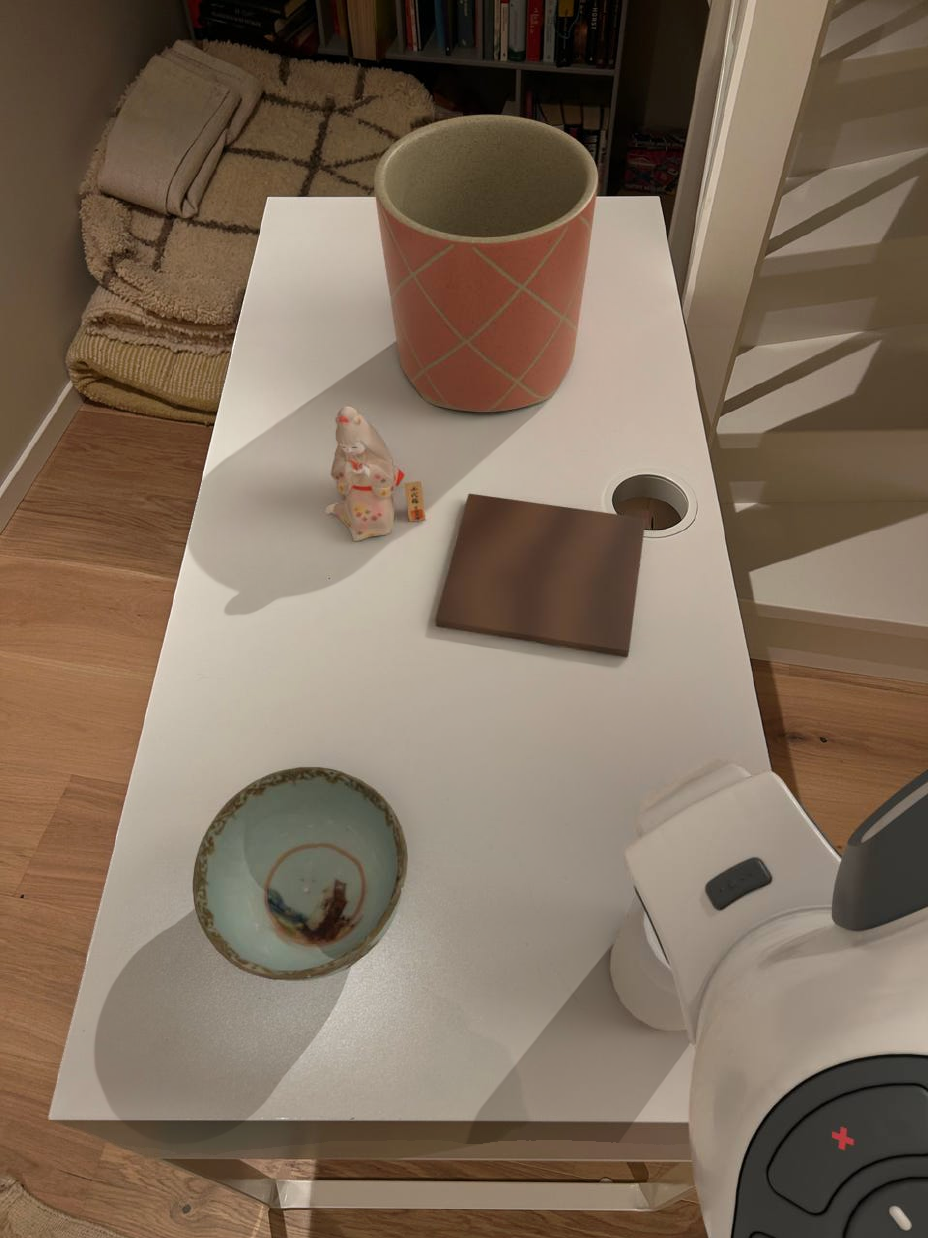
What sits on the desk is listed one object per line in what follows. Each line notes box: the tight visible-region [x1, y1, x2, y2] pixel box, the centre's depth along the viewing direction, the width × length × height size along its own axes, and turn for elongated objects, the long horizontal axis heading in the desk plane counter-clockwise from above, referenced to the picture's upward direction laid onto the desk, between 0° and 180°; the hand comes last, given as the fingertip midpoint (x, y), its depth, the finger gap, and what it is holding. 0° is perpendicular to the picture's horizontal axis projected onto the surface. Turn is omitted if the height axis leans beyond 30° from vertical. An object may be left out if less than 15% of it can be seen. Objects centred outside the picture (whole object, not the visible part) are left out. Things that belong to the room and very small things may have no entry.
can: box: [609, 893, 687, 1032], centre depth 56 cm, size 8×8×12 cm
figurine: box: [325, 406, 426, 542], centre depth 79 cm, size 9×7×12 cm
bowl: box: [192, 766, 409, 982], centre depth 61 cm, size 14×13×8 cm
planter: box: [373, 114, 599, 413], centre depth 86 cm, size 19×19×20 cm
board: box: [434, 493, 646, 658], centre depth 79 cm, size 16×14×1 cm
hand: (801, 969), depth 43 cm, fingers open, 8 cm apart
